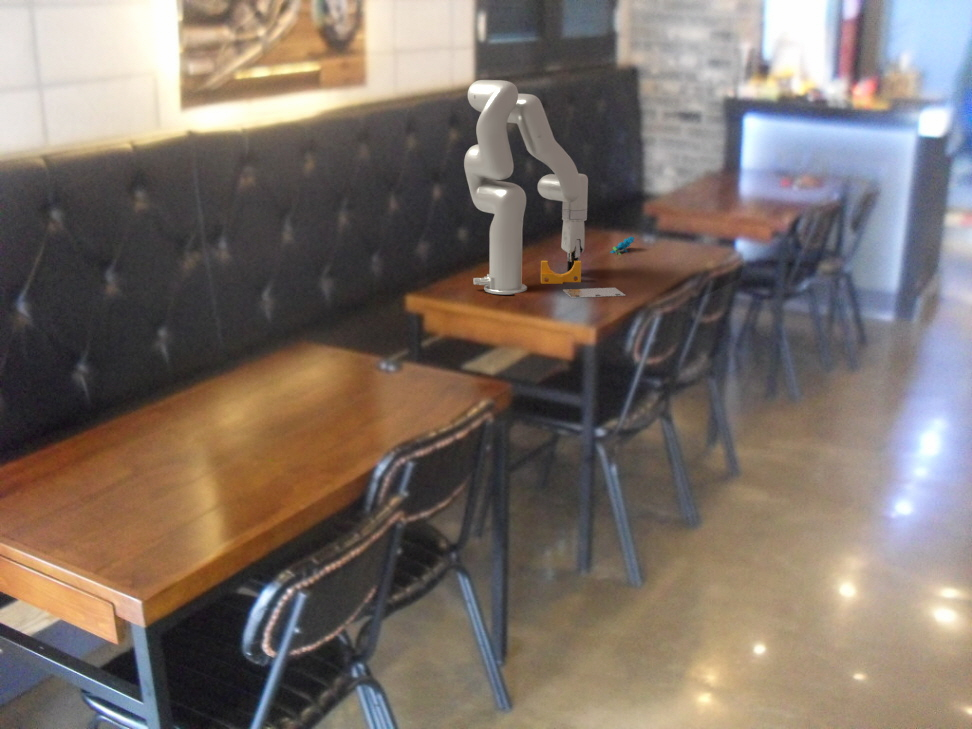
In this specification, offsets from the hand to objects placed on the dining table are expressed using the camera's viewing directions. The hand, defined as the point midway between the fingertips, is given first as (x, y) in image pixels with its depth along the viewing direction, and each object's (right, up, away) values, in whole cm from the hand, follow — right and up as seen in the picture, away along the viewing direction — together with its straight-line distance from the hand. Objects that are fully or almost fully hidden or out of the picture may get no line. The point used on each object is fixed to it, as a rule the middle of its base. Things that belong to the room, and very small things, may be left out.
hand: (572, 273), depth 325 cm
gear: (+17, +7, +32) cm, 37 cm away
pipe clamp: (-4, -4, -7) cm, 9 cm away
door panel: (+4, -7, -21) cm, 23 cm away
